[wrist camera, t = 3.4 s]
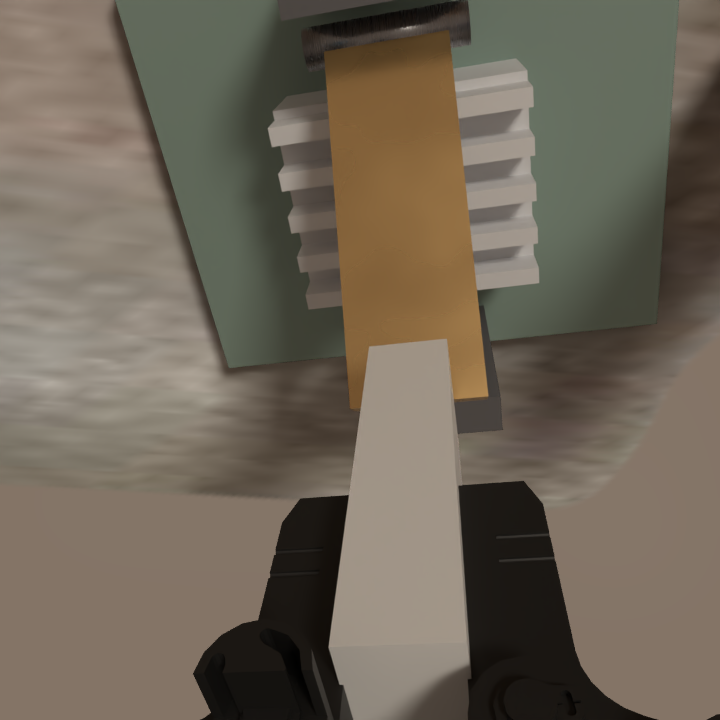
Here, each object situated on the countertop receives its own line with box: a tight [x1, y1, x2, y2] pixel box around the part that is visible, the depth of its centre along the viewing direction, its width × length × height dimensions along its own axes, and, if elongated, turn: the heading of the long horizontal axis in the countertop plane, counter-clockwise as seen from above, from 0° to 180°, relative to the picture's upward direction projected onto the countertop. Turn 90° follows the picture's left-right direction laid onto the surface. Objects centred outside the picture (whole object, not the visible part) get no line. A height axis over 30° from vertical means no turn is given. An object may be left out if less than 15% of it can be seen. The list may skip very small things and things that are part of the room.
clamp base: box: [115, 0, 679, 434], centre depth 20 cm, size 16×14×7 cm
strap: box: [301, 0, 488, 411], centre depth 16 cm, size 4×10×1 cm
